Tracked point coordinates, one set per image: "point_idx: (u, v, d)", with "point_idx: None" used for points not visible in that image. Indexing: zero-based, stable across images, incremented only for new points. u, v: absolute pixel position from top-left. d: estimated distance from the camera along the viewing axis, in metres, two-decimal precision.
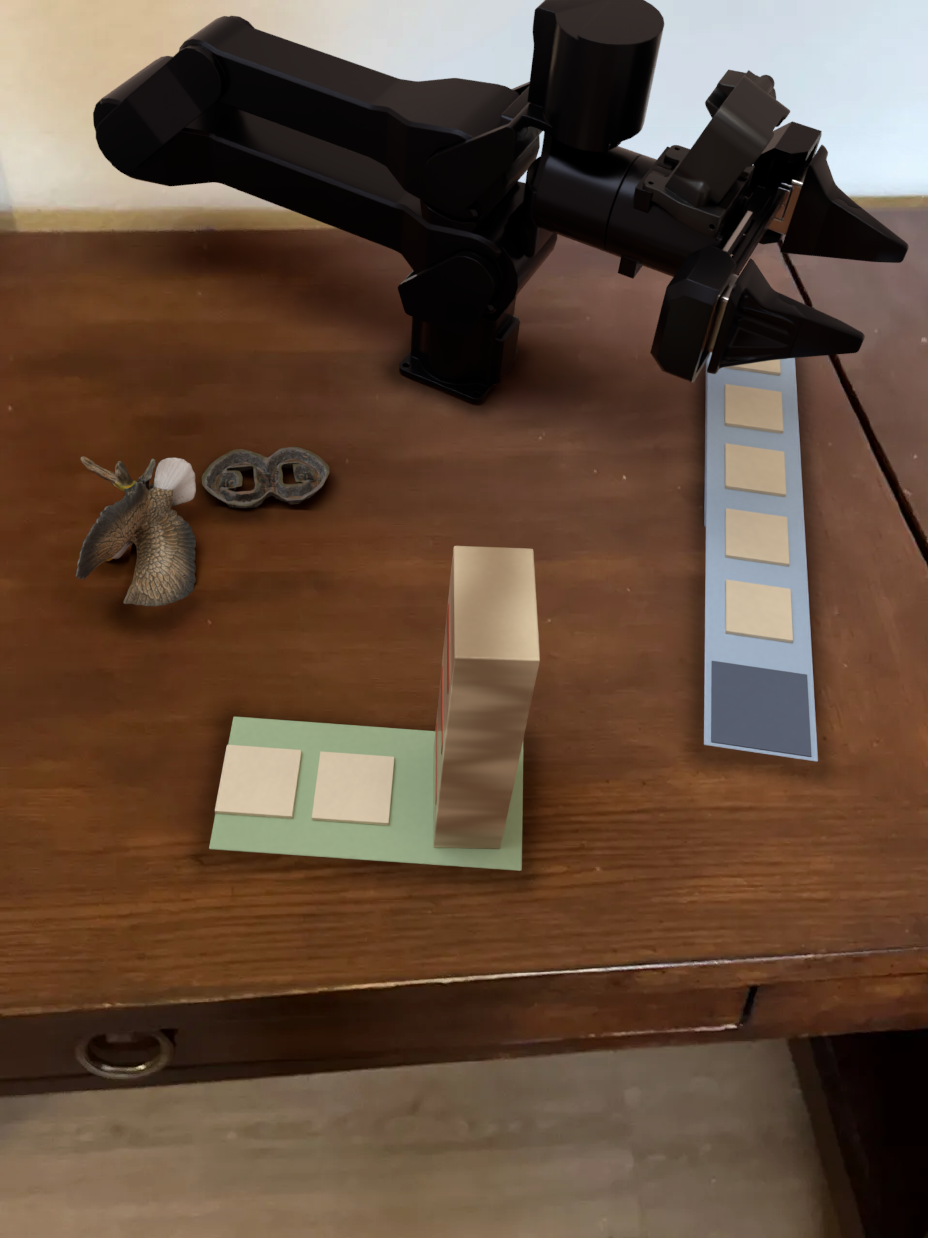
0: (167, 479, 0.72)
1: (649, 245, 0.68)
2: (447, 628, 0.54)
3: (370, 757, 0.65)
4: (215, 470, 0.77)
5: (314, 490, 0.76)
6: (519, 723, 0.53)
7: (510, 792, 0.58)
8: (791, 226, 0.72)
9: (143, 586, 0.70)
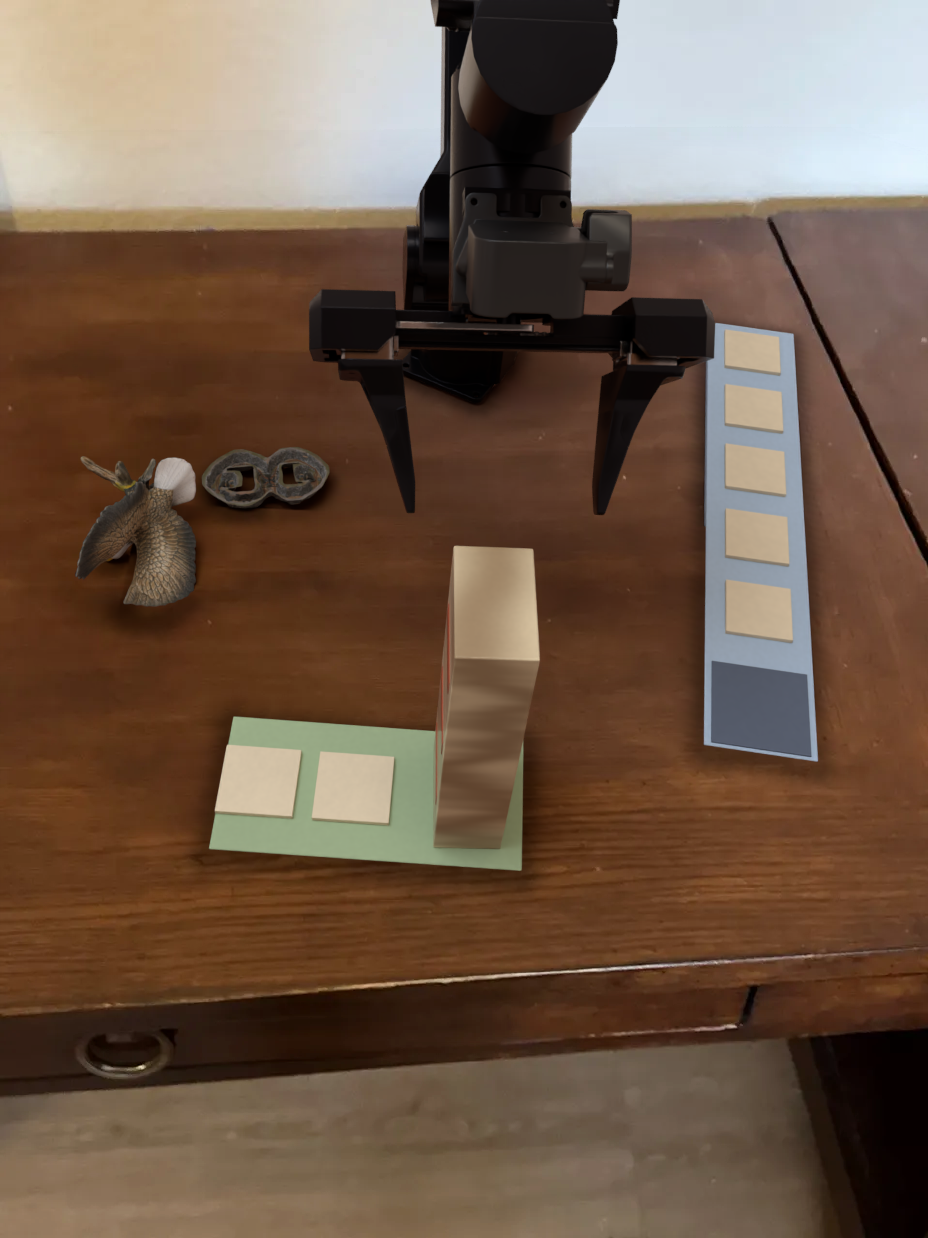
0: (167, 479, 0.72)
1: (449, 236, 0.57)
2: (447, 628, 0.54)
3: (370, 757, 0.65)
4: (215, 470, 0.77)
5: (314, 490, 0.76)
6: (519, 723, 0.53)
7: (510, 792, 0.58)
8: (608, 376, 0.60)
9: (143, 586, 0.70)
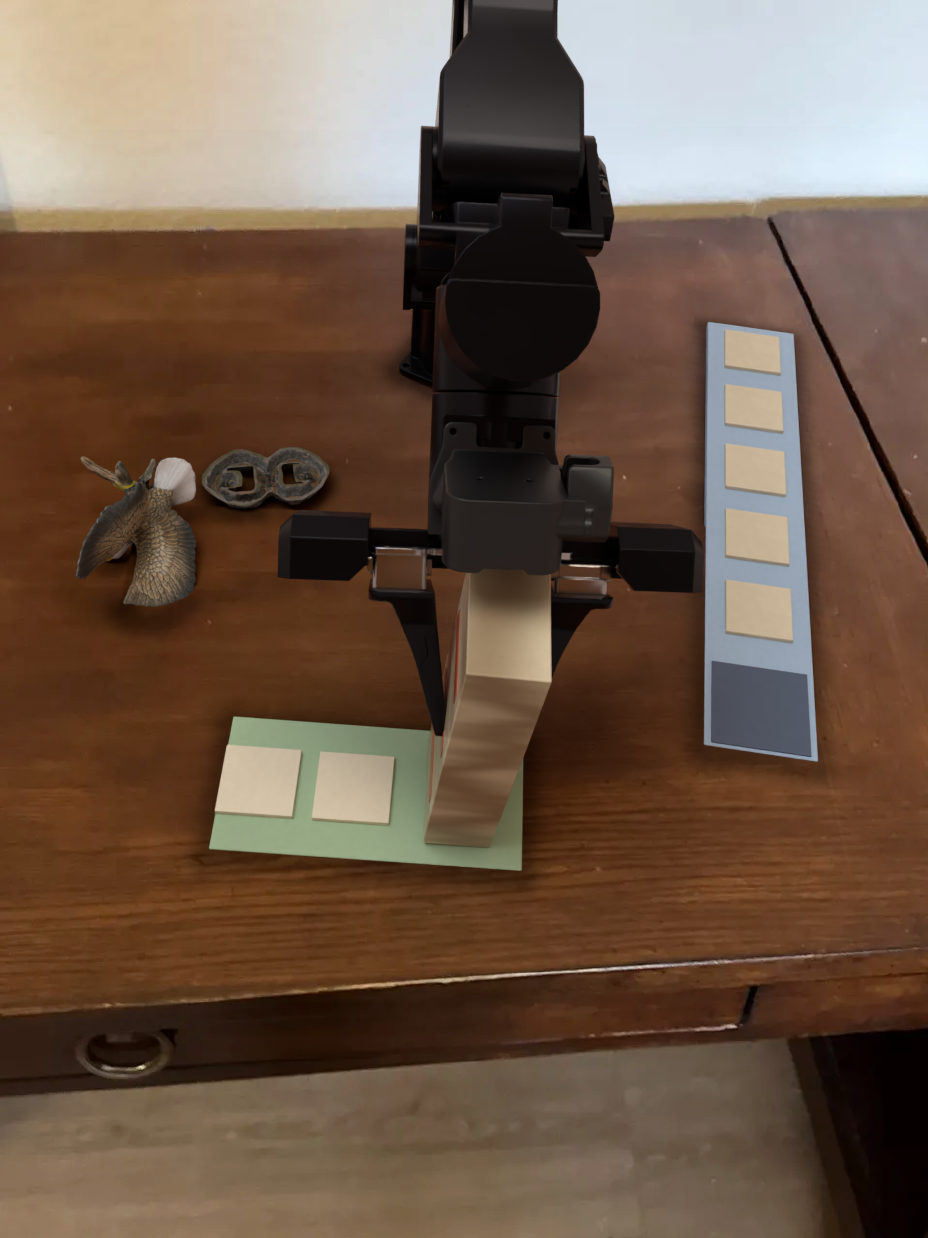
0: (167, 479, 0.72)
1: (430, 452, 0.55)
2: (456, 635, 0.54)
3: (370, 757, 0.65)
4: (215, 470, 0.77)
5: (314, 490, 0.76)
6: (523, 737, 0.53)
7: (506, 798, 0.58)
8: None
9: (143, 586, 0.70)
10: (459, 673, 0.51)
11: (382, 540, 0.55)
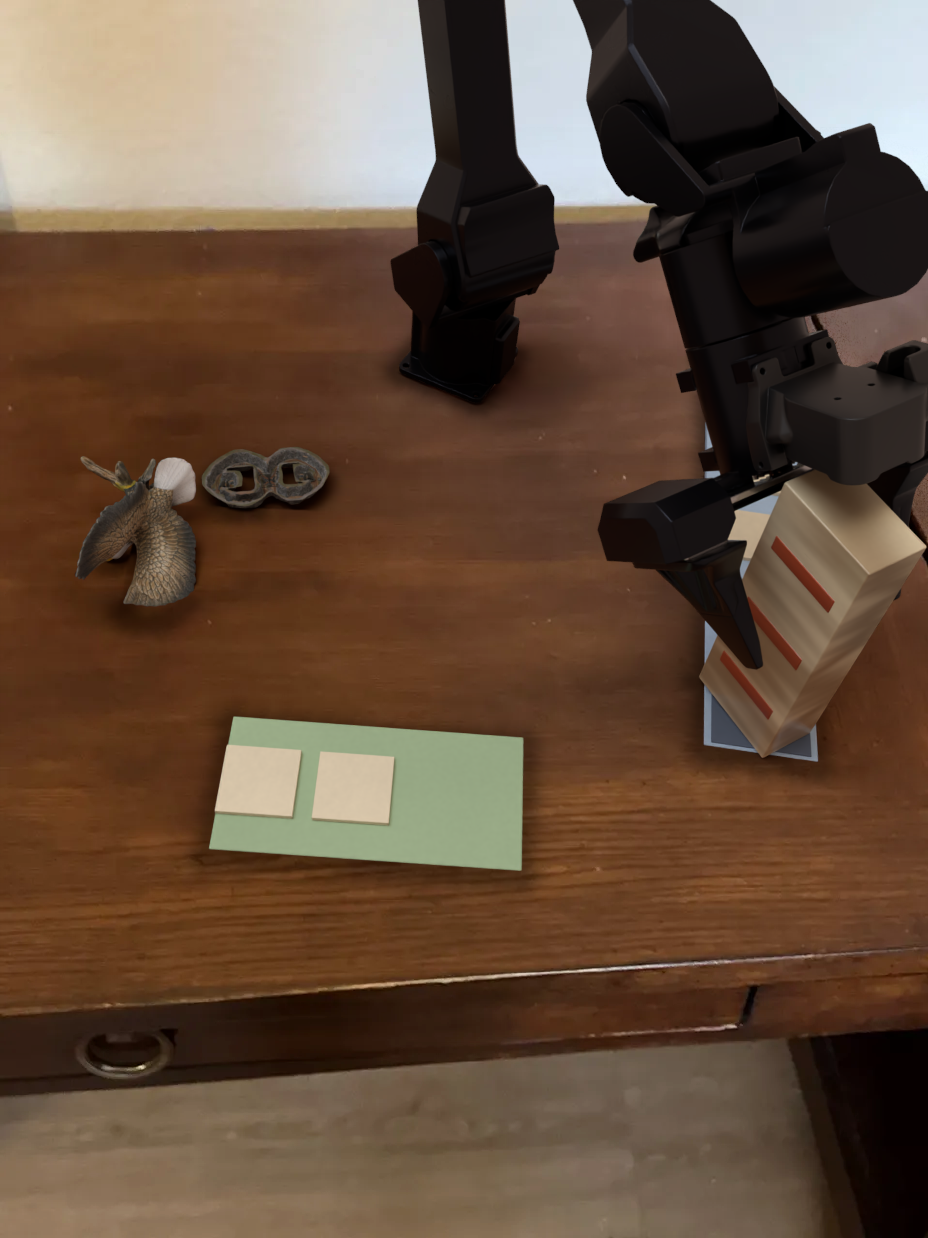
0: (167, 479, 0.72)
1: (710, 402, 0.58)
2: (785, 558, 0.58)
3: (370, 757, 0.65)
4: (215, 470, 0.77)
5: (314, 490, 0.76)
6: (884, 610, 0.58)
7: (844, 677, 0.63)
8: None
9: (143, 586, 0.70)
10: (830, 583, 0.56)
11: None
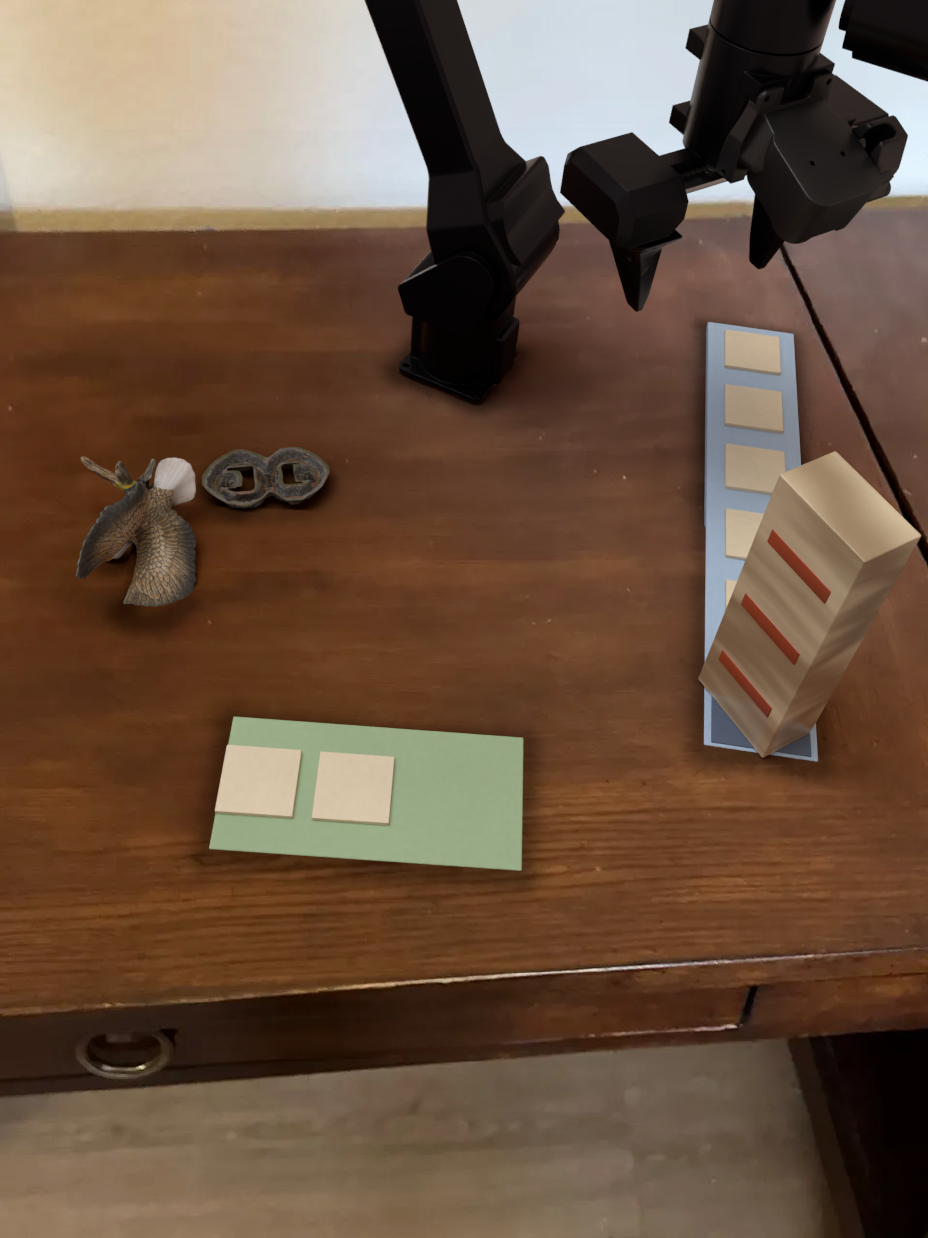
0: (167, 479, 0.72)
1: (708, 88, 0.61)
2: (781, 551, 0.58)
3: (370, 757, 0.65)
4: (215, 470, 0.77)
5: (314, 490, 0.76)
6: (880, 602, 0.58)
7: (842, 673, 0.63)
8: None
9: (143, 586, 0.70)
10: (826, 573, 0.56)
11: None
